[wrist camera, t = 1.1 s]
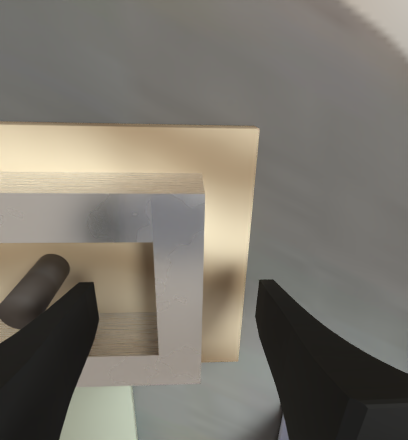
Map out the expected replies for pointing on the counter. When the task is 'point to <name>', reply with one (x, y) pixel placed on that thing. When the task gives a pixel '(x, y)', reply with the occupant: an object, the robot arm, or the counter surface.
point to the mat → (100, 414)
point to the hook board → (136, 251)
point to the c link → (117, 233)
